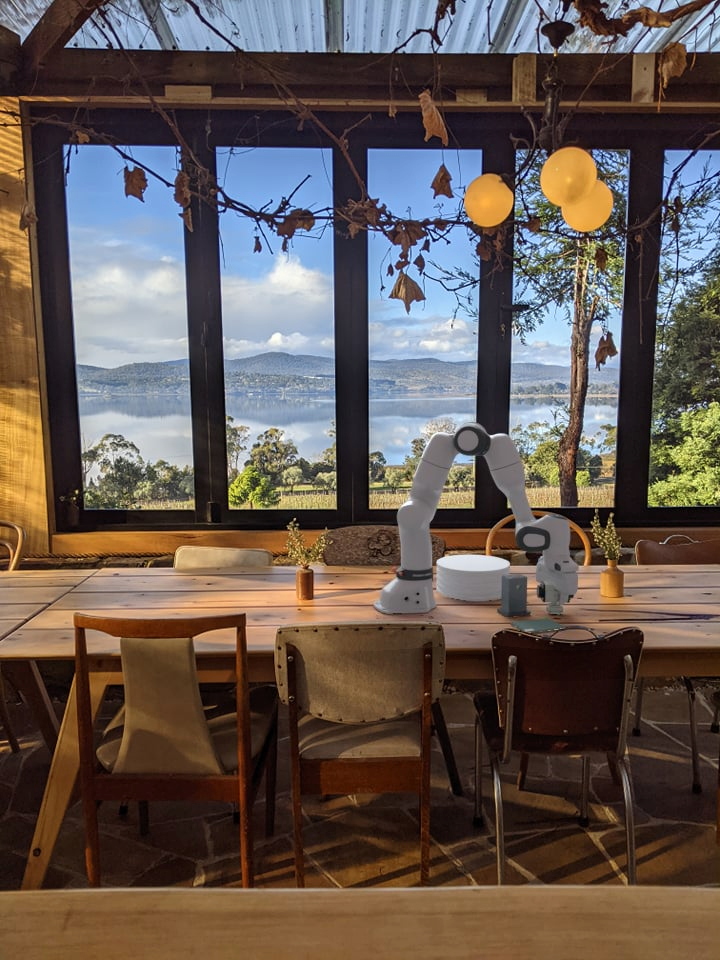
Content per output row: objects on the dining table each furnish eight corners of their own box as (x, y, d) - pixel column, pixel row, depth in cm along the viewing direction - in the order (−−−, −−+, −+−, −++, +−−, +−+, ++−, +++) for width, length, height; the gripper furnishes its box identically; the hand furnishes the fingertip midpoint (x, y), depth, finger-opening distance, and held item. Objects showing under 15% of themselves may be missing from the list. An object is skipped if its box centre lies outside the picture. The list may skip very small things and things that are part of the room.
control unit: (507, 618, 230) (507, 579, 228) (497, 612, 236) (497, 574, 235) (530, 615, 232) (531, 577, 231) (520, 609, 239) (520, 572, 237)
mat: (526, 634, 213) (526, 631, 213) (510, 624, 223) (510, 621, 223) (565, 629, 217) (565, 626, 217) (547, 620, 227) (547, 617, 227)
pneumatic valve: (536, 611, 236) (536, 577, 235) (570, 611, 236) (571, 578, 234) (539, 616, 231) (539, 582, 230) (574, 616, 230) (575, 582, 229)
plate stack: (425, 596, 258) (425, 566, 256) (451, 579, 282) (451, 552, 281) (497, 605, 245) (498, 574, 243) (517, 586, 269) (518, 558, 268)
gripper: (531, 555, 240) (530, 593, 242) (565, 568, 221) (564, 610, 222) (546, 554, 242) (546, 592, 244) (581, 567, 223) (580, 608, 224)
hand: (555, 601), depth 233 cm, fingers closed on pneumatic valve, 6 cm apart
